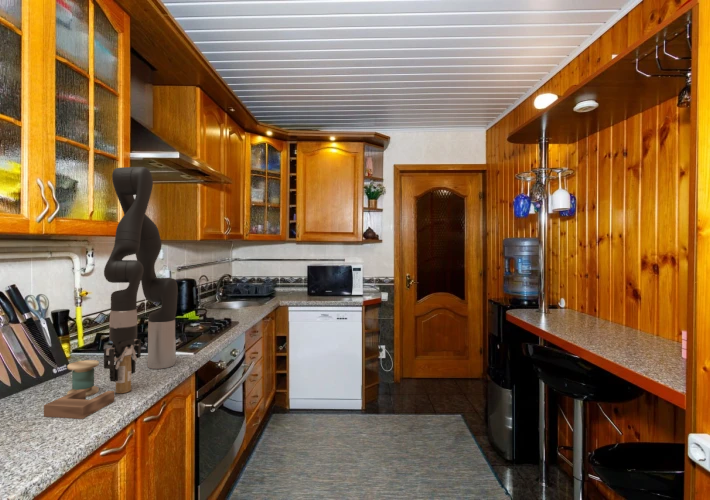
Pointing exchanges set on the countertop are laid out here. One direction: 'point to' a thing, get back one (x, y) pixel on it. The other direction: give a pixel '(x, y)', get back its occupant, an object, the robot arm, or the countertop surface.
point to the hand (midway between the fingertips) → (122, 377)
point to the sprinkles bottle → (124, 374)
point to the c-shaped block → (77, 405)
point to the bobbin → (83, 376)
